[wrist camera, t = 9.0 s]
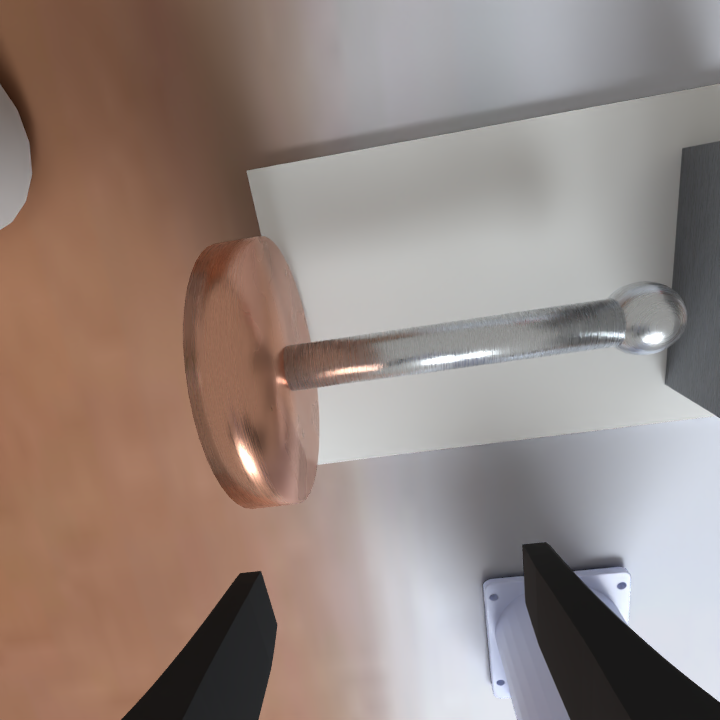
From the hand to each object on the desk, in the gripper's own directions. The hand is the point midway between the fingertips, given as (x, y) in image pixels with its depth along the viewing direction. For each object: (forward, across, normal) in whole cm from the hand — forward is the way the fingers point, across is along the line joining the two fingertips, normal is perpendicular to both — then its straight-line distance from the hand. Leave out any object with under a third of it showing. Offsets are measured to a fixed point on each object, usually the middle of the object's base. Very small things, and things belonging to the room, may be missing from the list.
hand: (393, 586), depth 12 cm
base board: (+10, -9, -5) cm, 15 cm away
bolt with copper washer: (+9, -2, -5) cm, 11 cm away
